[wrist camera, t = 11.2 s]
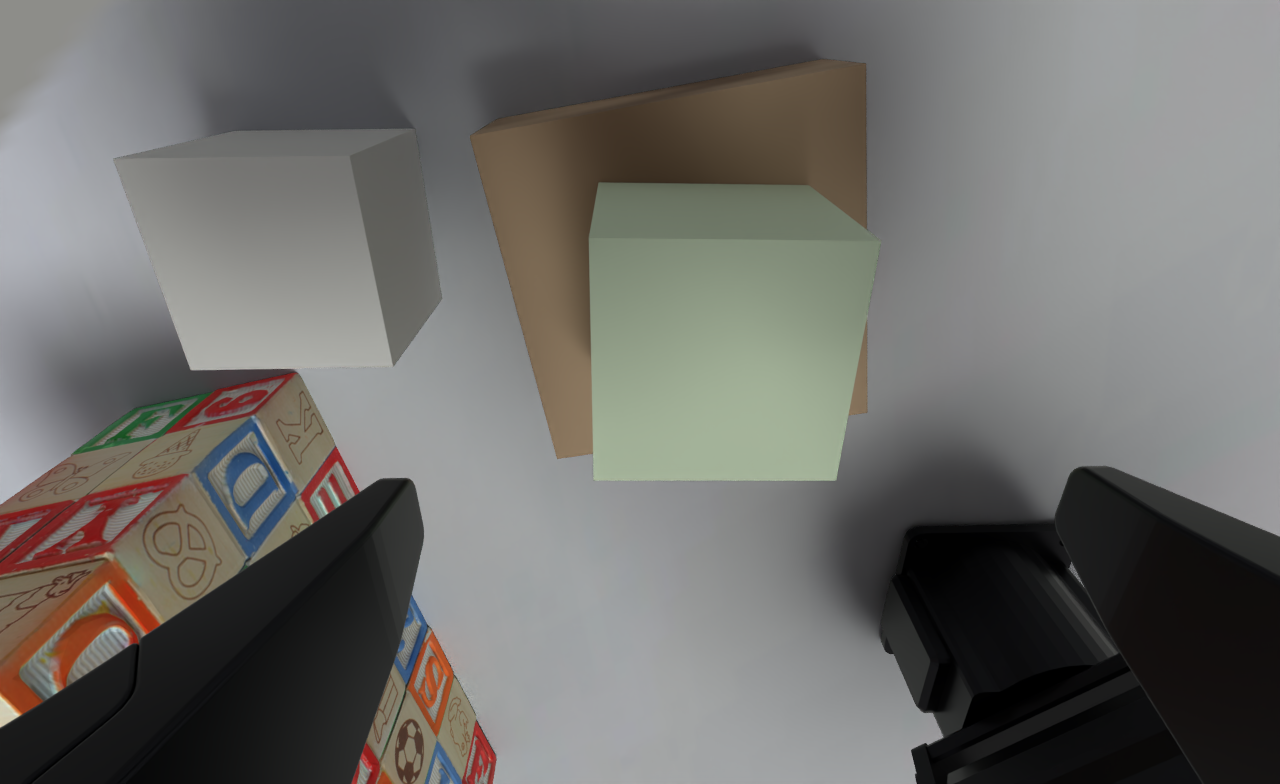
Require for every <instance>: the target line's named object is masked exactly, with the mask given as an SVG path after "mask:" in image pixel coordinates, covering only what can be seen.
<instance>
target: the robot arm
mask: <svg viewBox="0 0 1280 784" xmlns="http://www.w3.org/2000/svg"><path fill="white" fill-rule="evenodd" d="M922 538H923V539H922ZM919 539H922V540H921V541H918V542H916V541H917V540H919ZM423 540H424V527H423V521H422V516H421V512H420V507H419V502H418V497H417V492H416V488H415V485H414V483H413V481H412V480H410V479H409V478H383V479H379V480H378V481H376V482H374V483H373V484H371V485H370V486H368V487H367V488H365V489H364V490H362V491H361V492H359V493H358V494H356V495H355V496H353V497H352V498H350V499H349V500H347V501H346V502H344V503H343V504H341V505H340V506H338V507H337V508H335V509H334V510H332V511H331V512H329V513H328V514H326V515H325V516H323V517H322V518H320V519H319V520H317V521H316V522H314V523H313V524H311V525H310V526H308V527H307V528H305V529H304V530H302V531H301V532H299V533H298V534H296V535H295V536H293V537H292V538H290V539H289V540H287V541H286V542H284V543H283V544H281V545H280V546H278V547H277V548H275V549H274V550H272V551H271V552H269V553H268V554H266V555H265V556H263V557H262V558H260V559H259V560H257V561H256V562H254V563H253V564H251V565H250V566H248V567H247V568H245V569H244V570H242V571H241V572H239V573H238V574H236V575H235V576H233V577H232V578H230V579H229V580H227V581H226V582H224V583H223V584H221V585H220V586H218V587H217V588H215V589H214V590H212V591H211V592H209V593H208V594H206V595H205V596H203V597H202V598H200V599H199V600H197V601H196V602H194V603H193V604H191V605H190V606H188V607H187V608H185V609H184V610H182V611H181V612H179V613H178V614H176V615H175V616H173V617H171V618H170V619H168V620H167V621H165V622H164V623H162V624H161V625H159V626H158V627H156V628H155V629H153V630H152V631H150V632H149V633H147V634H146V635H144V636H143V637H142V638H141V639H140V640H139V644H137V643H133V644H131V645H129V646H128V647H126V648H125V649H123V650H122V651H120V652H119V653H117V654H116V655H114V656H113V657H111V658H110V659H108V660H107V661H105V662H104V663H102V664H101V665H99V666H98V667H96V668H95V669H93V670H91V671H90V672H88V673H87V674H85V675H84V676H82V677H81V678H79V679H77V680H76V681H74V682H73V683H71V684H70V685H68V686H67V687H65V688H63V689H62V690H60V691H59V692H57V693H56V694H54V695H53V696H51V697H50V698H48V699H46V700H45V701H43V702H42V703H40V704H38V705H37V706H35V707H33V708H32V709H30V710H29V711H27V712H25V713H24V714H22V715H20V716H19V717H17V718H15V719H14V720H12V721H10V722H9V723H7V724H5V725H4V726H2V727H0V784H352V781H353V778H354V775H355V772H356V770H357V767H358V764H359V761H360V758H361V755H362V753H363V750H364V747H365V744H366V741H367V738H368V735H369V733H370V730H371V727H372V724H373V721H374V718H375V715H376V713H377V710H378V707H379V704H380V701H381V698H382V696H383V693H384V690H385V687H386V684H387V681H388V678H389V676H390V673H391V670H392V667H393V664H394V661H395V658H396V655H397V652H398V649H399V646H400V642H401V638H402V634H403V630H404V626H405V622H406V617H407V613H408V608H409V604H410V599H411V595H412V590H413V586H414V582H415V577H416V573H417V568H418V564H419V559H420V555H421V550H422V546H423ZM1071 561H1072V563H1073V565H1074V567H1075V569H1076V571H1077V573H1078V575H1079V577H1080V579H1081V581H1082V583H1083V585H1084V587H1085V588H1084V587H1083V585H1082V584H1081V583H1080V582H1079V581H1078V579H1077V578H1076V577H1075V576H1074V575H1073V573H1072V572H1071V571H1070V570H1069V566H1070V564H1071ZM881 626H882V628H883V632H882V636H881V643H882V645H883V647H884V650H885V651H886V652H887V653H889V654H894V656H895V658H896V660H897V663H898V665H899V667H900V669H901V672H902V674H903V676H904V679H905V681H906V683H907V686H908V688H909V690H910V693H911V695H912V697H913V700H914V702H915V704H916V706H917V707H918V708H919V709H920V710H921V711H922V712H924V713H933V715H934V717H935V719H936V721H937V723H938V726H939V728H940V730H941V732H942V734H943V737H944V738H942V739H940V740H937V741H935V742H933V743H931V744H929V745H927V744H926V743H924V744H922V745H920V746H918V747H916V748H914V749H912V750H911V752H912V756H913V760H914V765H915V769H916V773H917V774H915V778H916V782H917V784H1280V537H1279V536H1277V535H1275V534H1272V533H1270V532H1267V531H1265V530H1262V529H1260V528H1258V527H1255V526H1253V525H1250V524H1248V523H1245V522H1243V521H1241V520H1238V519H1236V518H1233V517H1231V516H1229V515H1226V514H1224V513H1221V512H1219V511H1216V510H1214V509H1212V508H1209V507H1207V506H1204V505H1202V504H1199V503H1197V502H1195V501H1192V500H1190V499H1187V498H1185V497H1183V496H1180V495H1178V494H1175V493H1173V492H1170V491H1168V490H1166V489H1163V488H1161V487H1158V486H1156V485H1154V484H1151V483H1149V482H1146V481H1144V480H1141V479H1139V478H1137V477H1134V476H1132V475H1129V474H1127V473H1124V472H1122V471H1120V470H1117V469H1115V468H1112V467H1108V466H1082V467H1078V468H1076V469H1074V470H1073V471H1072V472H1071V473H1070V475H1069V478H1068V480H1067V483H1066V486H1065V489H1064V491H1063V494H1062V497H1061V500H1060V502H1059V505H1058V508H1057V511H1056V514H1055V524H1032V525H973V526H919V527H914V528H912V529H910V530H909V531H908V532H907V533H906V535H905V537H904V541H903V545H902V549H901V554H900V558H899V562H898V567H897V571H896V575H894V576H893V577H892V579H891V580H890V584H889V588H888V593H887V597H886V602H885V606H884V611H883V615H882V619H881Z"/></svg>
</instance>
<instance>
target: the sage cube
mask: <svg viewBox="0 0 1280 784" xmlns="http://www.w3.org/2000/svg"><path fill="white" fill-rule="evenodd" d="M880 245H881V240H879V239H878V238H877V237H876V236H874V235H873V234H872V233H870V232H869V231H868V230H866V229H865V228H864V227H863V226H861V225H860V224H859V223H857V222H856V221H855V220H854V219H852V218H851V217H850V216H848V215H847V214H846V213H844V212H843V211H842V210H841V209H839V208H838V207H837V206H835V205H834V204H833V203H831V202H830V201H829V200H828V199H826V198H825V197H824V196H822V195H821V194H820V193H818V192H817V191H816V190H815V189H813V188H812V187H811V186H809V185H764V184H685V183H606V182H599V183H598V188H597V194H596V200H595V205H594V211H593V217H592V222H591V228H590V234H589V276H590V326H591V375H592V425H593V474H594V481H836V478H837V473H838V467H839V462H840V457H841V452H842V446H843V441H844V436H845V430H846V425H847V420H848V415H849V409H850V404H851V399H852V393H853V388H854V383H855V378H856V372H857V367H858V362H859V356H860V351H861V346H862V341H863V335H864V330H865V325H866V319H867V314H868V309H869V304H870V298H871V293H872V288H873V282H874V277H875V272H876V267H877V261H878V256H879V251H880Z"/></svg>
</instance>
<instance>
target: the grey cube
mask: <svg viewBox="0 0 1280 784" xmlns="http://www.w3.org/2000/svg"><path fill="white" fill-rule="evenodd" d="M113 160H114V163H115V165H116V168H117V171H118V174H119V176H120V179H121V182H122V184H123V187H124V190H125V193H126V195H127V198H128V201H129V203H130V206H131V209H132V212H133V214H134V217H135V220H136V223H137V225H138V228H139V231H140V233H141V236H142V239H143V242H144V244H145V247H146V250H147V252H148V255H149V258H150V261H151V263H152V266H153V269H154V271H155V274H156V277H157V280H158V282H159V285H160V288H161V290H162V293H163V296H164V299H165V301H166V304H167V307H168V310H169V312H170V315H171V318H172V320H173V323H174V326H175V329H176V331H177V334H178V337H179V339H180V342H181V345H182V348H183V350H184V353H185V356H186V358H187V361H188V364H189V367H190V369H191V370H238V369H300V368H363V367H394V365H395V364H396V362H397V361H398V360H399V358H400V357H401V355H402V354H403V353H404V351H405V350H406V348H407V347H408V346H409V344H410V343H411V342H412V340H413V339H414V337H415V336H416V335H417V333H418V332H419V330H420V329H421V328H422V326H423V325H424V323H425V322H426V321H427V319H428V318H429V316H430V315H431V314H432V312H433V311H434V310H435V308H436V307H437V305H438V304H439V303H440V301H441V300H442V294H441V288H440V281H439V275H438V269H437V262H436V256H435V250H434V244H433V237H432V231H431V225H430V218H429V212H428V206H427V200H426V193H425V187H424V181H423V174H422V168H421V162H420V156H419V149H418V143H417V137H416V130H415V129H336V130H256V131H232V132H227V133H223V134H219V135H214V136H210V137H206V138H201V139H197V140H193V141H188V142H184V143H180V144H175V145H171V146H166V147H162V148H158V149H153V150H149V151H145V152H140V153H136V154H132V155H127V156H123V157H119V158H114V159H113Z"/></svg>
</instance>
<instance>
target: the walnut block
mask: <svg viewBox="0 0 1280 784" xmlns="http://www.w3.org/2000/svg"><path fill="white" fill-rule="evenodd" d="M470 140H471V144H472V147H473V151H474V155H475V158H476V162H477V166H478V169H479V173H480V177H481V180H482V184H483V188H484V191H485V195H486V199H487V202H488V206H489V210H490V213H491V217H492V221H493V224H494V228H495V232H496V235H497V239H498V243H499V247H500V250H501V254H502V258H503V261H504V265H505V269H506V272H507V276H508V280H509V283H510V287H511V291H512V294H513V298H514V302H515V305H516V309H517V313H518V316H519V320H520V324H521V327H522V331H523V335H524V338H525V342H526V346H527V349H528V353H529V357H530V360H531V364H532V368H533V372H534V375H535V379H536V383H537V386H538V390H539V394H540V397H541V401H542V405H543V408H544V412H545V416H546V419H547V423H548V427H549V430H550V434H551V438H552V441H553V445H554V449H555V452H556V456H557V459H560V458H567V457H574V456H580V455H587V454H593V425H592V375H591V326H590V276H589V234H590V228H591V222H592V217H593V211H594V205H595V200H596V194H597V188H598V183H599V182H606V183H685V184H764V185H809V186H811V187H812V188H813V189H815V190H816V191H817V192H818V193H820V194H821V195H822V196H824V197H825V198H826V199H828V200H829V201H830V202H831V203H833V204H834V205H835V206H837V207H838V208H839V209H841V210H842V211H843V212H844V213H846V214H847V215H848V216H850V217H851V218H852V219H854V220H855V221H856V222H857V223H859V224H860V225H861V226H863V227H864V228H865V229H866V230H867V170H866V63H856V62H847V61H837V60H828V59H820V60H815V61H809V62H804V63H798V64H793V65H787V66H782V67H777V68H771V69H766V70H760V71H755V72H749V73H744V74H738V75H733V76H728V77H722V78H717V79H711V80H706V81H700V82H695V83H690V84H684V85H679V86H673V87H668V88H662V89H657V90H651V91H646V92H641V93H635V94H630V95H624V96H619V97H613V98H608V99H603V100H597V101H592V102H586V103H581V104H575V105H570V106H564V107H559V108H554V109H548V110H543V111H537V112H532V113H526V114H521V115H516V116H510V117H505V118H499V119H496V120H495V121H493V122H491V123H490V124H488V125H487V126H485V127H483V128H482V129H480V130H478V131H477V132H475V133H474V134H472V135H470ZM862 413H867V319H866V325H865V330H864V335H863V341H862V346H861V351H860V356H859V362H858V367H857V372H856V378H855V383H854V388H853V393H852V399H851V404H850V409H849V415H855V414H862Z"/></svg>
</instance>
